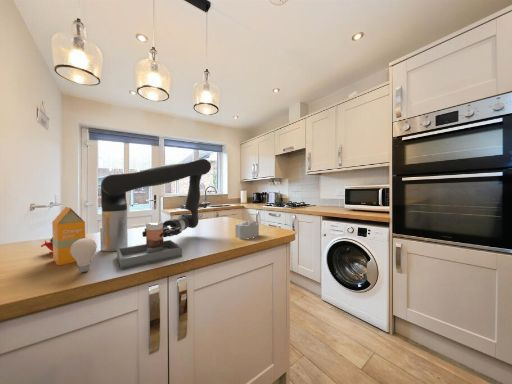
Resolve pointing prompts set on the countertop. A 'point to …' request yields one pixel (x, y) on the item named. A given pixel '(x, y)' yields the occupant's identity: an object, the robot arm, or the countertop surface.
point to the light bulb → (83, 253)
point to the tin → (154, 237)
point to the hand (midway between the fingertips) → (153, 234)
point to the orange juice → (66, 235)
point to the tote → (139, 255)
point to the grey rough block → (246, 229)
